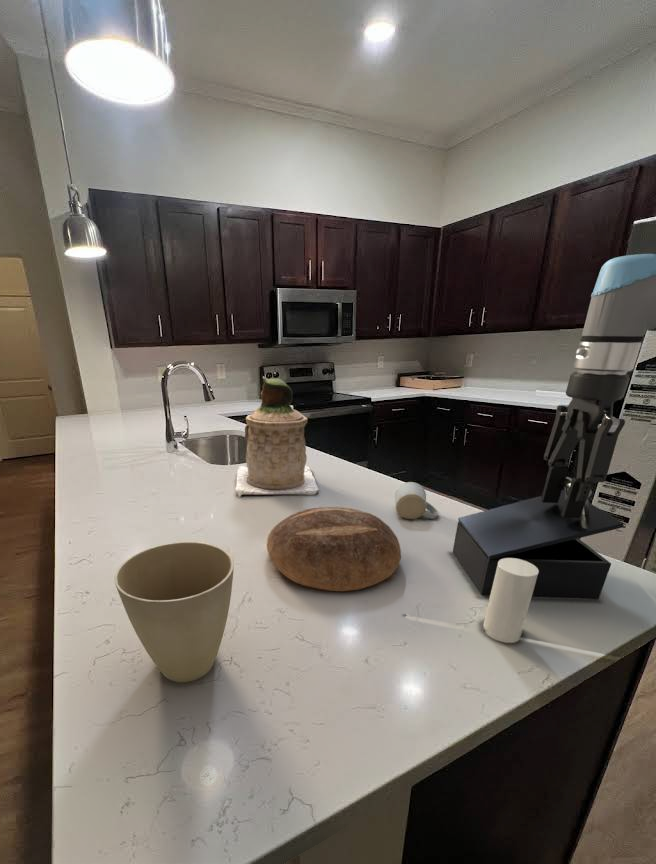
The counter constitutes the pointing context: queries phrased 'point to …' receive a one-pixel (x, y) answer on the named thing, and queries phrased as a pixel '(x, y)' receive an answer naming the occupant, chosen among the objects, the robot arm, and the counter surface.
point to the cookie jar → (275, 447)
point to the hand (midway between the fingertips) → (559, 508)
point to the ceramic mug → (413, 502)
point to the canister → (510, 599)
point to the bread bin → (540, 567)
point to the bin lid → (534, 525)
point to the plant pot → (178, 604)
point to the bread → (334, 549)
